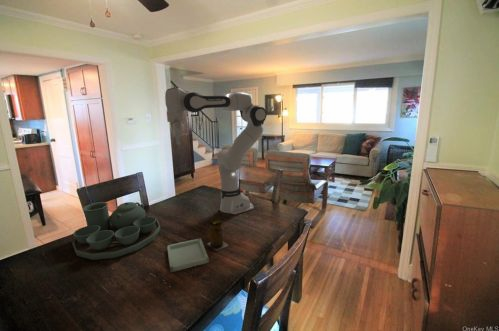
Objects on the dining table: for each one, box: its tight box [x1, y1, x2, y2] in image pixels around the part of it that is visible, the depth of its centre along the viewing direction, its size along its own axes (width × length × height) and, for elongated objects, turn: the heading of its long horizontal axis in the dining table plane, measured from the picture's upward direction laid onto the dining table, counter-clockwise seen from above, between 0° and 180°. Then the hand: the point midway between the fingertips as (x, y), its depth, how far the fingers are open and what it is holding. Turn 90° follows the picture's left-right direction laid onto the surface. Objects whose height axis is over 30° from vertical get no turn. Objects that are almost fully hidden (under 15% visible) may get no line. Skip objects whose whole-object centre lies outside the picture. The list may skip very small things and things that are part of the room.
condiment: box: [206, 219, 229, 252], centre depth 114 cm, size 7×8×12 cm
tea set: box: [72, 201, 161, 261], centre depth 123 cm, size 40×40×16 cm
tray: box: [167, 237, 210, 273], centre depth 107 cm, size 16×18×2 cm
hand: (178, 143), depth 133 cm, fingers open, 8 cm apart
